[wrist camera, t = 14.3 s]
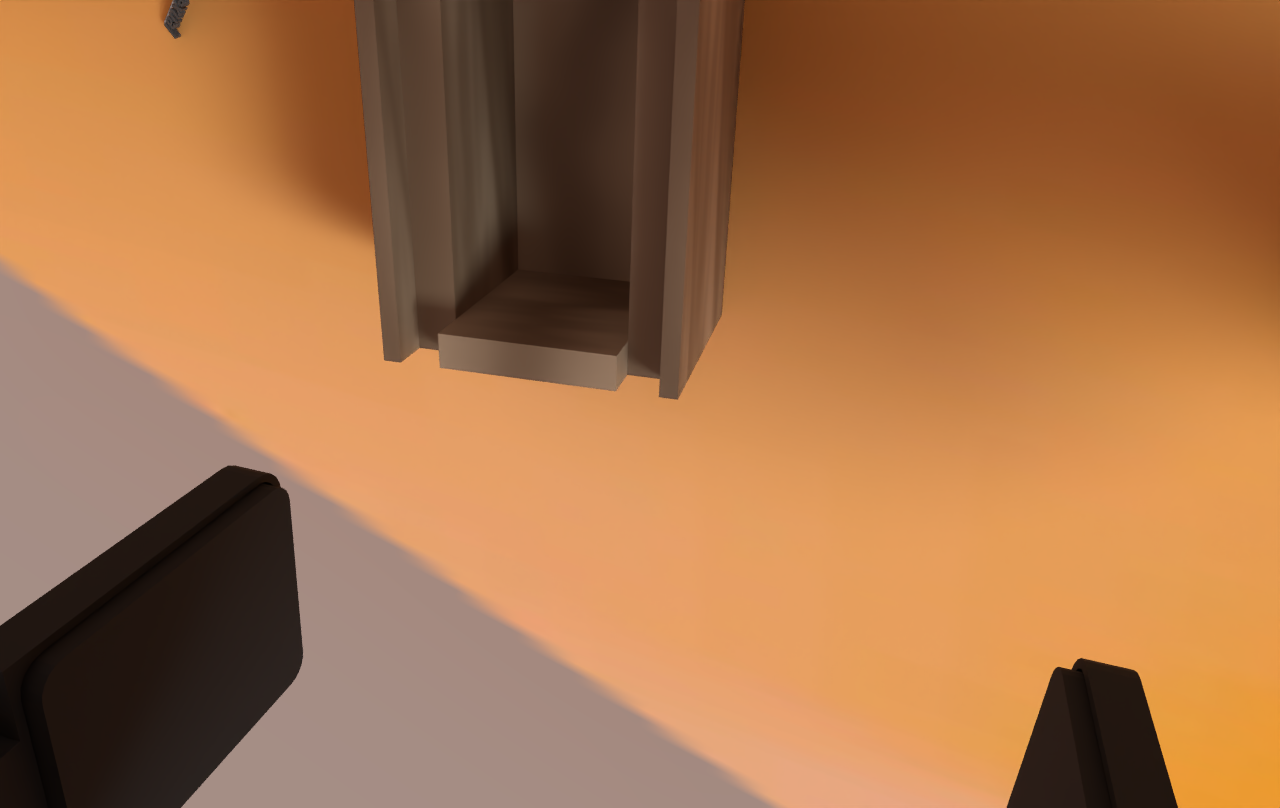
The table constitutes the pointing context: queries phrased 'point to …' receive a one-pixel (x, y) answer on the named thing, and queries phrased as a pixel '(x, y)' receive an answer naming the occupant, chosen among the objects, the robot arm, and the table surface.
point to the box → (551, 182)
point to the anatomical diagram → (175, 16)
